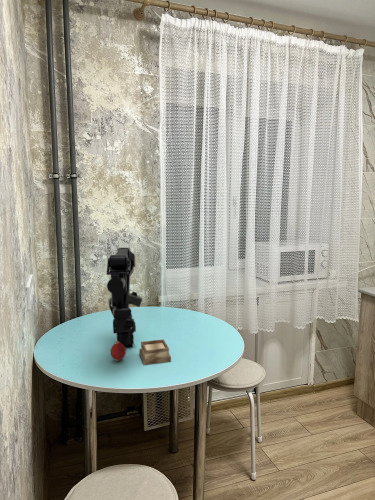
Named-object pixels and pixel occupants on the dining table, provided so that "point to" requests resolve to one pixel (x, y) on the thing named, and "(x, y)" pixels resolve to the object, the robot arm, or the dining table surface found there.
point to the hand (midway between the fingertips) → (119, 328)
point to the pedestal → (154, 352)
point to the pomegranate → (118, 351)
